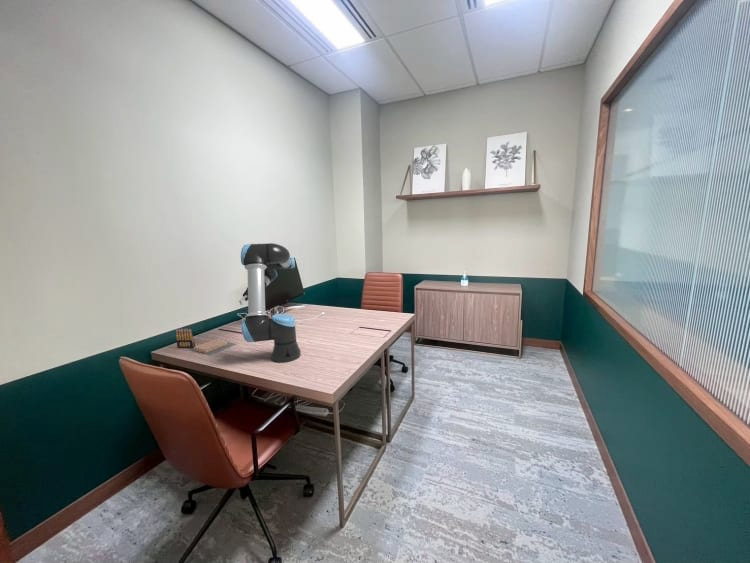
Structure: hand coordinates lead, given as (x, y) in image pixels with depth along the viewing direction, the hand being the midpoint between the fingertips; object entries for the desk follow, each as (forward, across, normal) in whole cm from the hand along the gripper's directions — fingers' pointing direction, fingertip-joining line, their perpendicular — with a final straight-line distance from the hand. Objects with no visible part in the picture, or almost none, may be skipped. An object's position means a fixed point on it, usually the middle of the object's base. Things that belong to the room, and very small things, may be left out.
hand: (240, 302), depth 180 cm
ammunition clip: (+23, +30, -16) cm, 42 cm away
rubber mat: (+20, +14, -19) cm, 31 cm away
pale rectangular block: (+14, +13, -19) cm, 27 cm away
